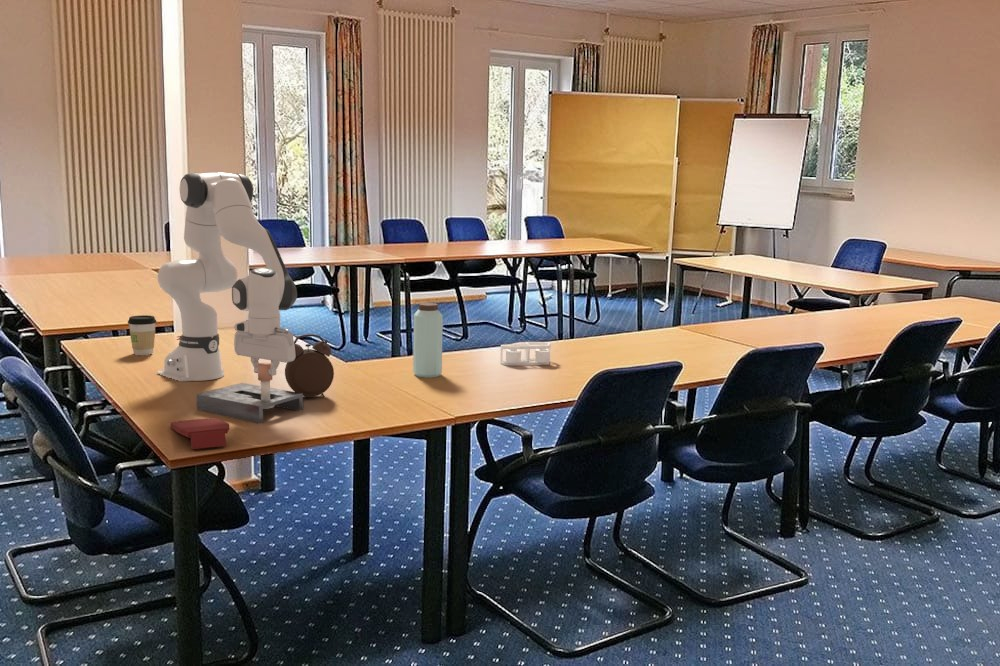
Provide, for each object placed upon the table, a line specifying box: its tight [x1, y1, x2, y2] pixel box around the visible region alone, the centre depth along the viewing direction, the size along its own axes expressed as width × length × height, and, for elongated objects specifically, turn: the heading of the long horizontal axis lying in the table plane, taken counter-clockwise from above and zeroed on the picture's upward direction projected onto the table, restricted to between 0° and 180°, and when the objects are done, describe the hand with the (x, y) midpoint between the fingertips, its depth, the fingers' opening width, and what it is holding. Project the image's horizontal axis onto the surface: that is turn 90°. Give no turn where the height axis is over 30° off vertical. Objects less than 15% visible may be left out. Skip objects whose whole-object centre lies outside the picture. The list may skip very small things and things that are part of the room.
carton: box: [169, 417, 230, 450], centre depth 243 cm, size 12×5×25 cm
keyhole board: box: [196, 382, 304, 425], centre depth 269 cm, size 18×24×5 cm
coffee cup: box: [127, 314, 157, 356], centre depth 337 cm, size 10×10×15 cm
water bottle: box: [412, 302, 444, 379], centre depth 319 cm, size 10×10×25 cm
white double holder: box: [499, 341, 552, 366], centre depth 345 cm, size 20×11×7 cm, turn 102°
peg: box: [257, 362, 275, 410], centre depth 265 cm, size 5×5×12 cm
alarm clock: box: [284, 333, 335, 398], centre depth 284 cm, size 15×7×20 cm, turn 115°
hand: (265, 374), depth 265 cm, fingers closed on peg, 4 cm apart
